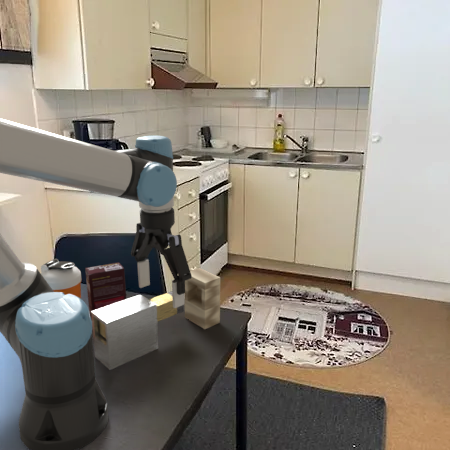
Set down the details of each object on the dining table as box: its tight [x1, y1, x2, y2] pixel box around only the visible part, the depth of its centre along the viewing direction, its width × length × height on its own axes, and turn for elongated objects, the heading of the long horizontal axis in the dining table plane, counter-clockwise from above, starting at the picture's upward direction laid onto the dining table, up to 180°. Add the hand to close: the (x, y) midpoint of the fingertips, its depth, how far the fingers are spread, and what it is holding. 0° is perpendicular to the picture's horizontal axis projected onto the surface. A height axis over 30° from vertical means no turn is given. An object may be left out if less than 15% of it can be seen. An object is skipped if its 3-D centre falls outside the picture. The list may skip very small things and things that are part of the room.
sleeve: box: [91, 294, 159, 371], centre depth 104 cm, size 12×7×11 cm, turn 133°
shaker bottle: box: [40, 258, 82, 299], centre depth 106 cm, size 9×9×20 cm
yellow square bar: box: [99, 290, 185, 338], centre depth 106 cm, size 20×4×4 cm, turn 133°
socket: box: [184, 267, 221, 330], centre depth 118 cm, size 5×8×13 cm, turn 43°
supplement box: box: [85, 261, 127, 330], centre depth 114 cm, size 9×5×16 cm, turn 117°
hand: (160, 295), depth 108 cm, fingers open, 13 cm apart
